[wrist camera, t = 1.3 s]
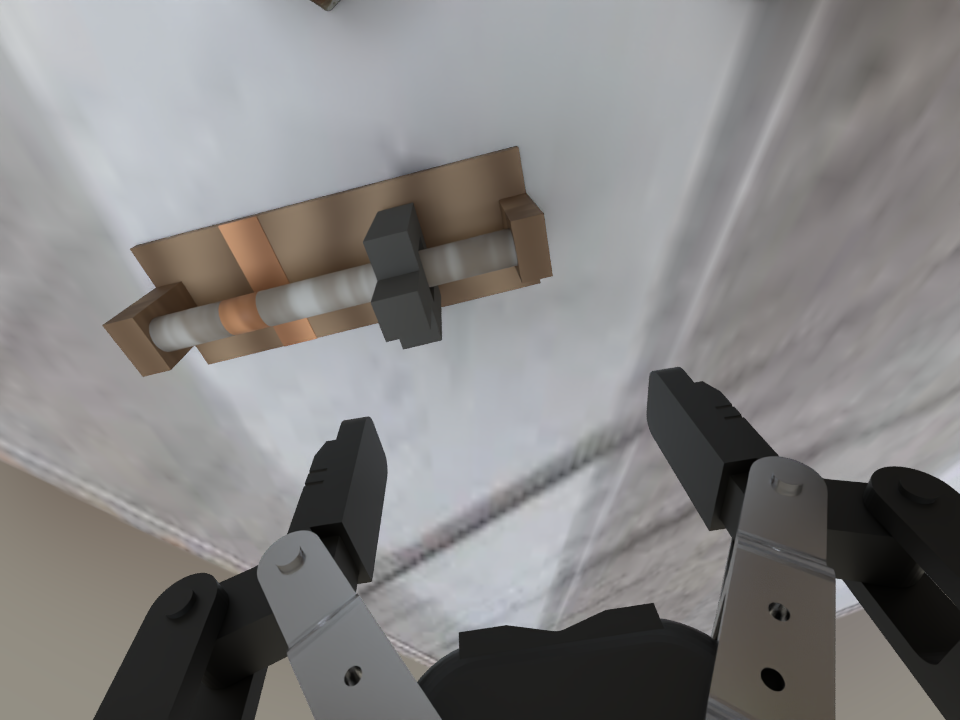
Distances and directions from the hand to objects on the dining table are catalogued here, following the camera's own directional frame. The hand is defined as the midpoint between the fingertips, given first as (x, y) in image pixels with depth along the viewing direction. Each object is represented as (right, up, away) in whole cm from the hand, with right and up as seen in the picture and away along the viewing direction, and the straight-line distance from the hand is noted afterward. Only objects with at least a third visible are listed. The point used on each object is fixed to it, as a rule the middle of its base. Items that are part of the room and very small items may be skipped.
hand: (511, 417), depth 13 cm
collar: (-6, +9, +19) cm, 22 cm away
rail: (-11, +9, +21) cm, 25 cm away
